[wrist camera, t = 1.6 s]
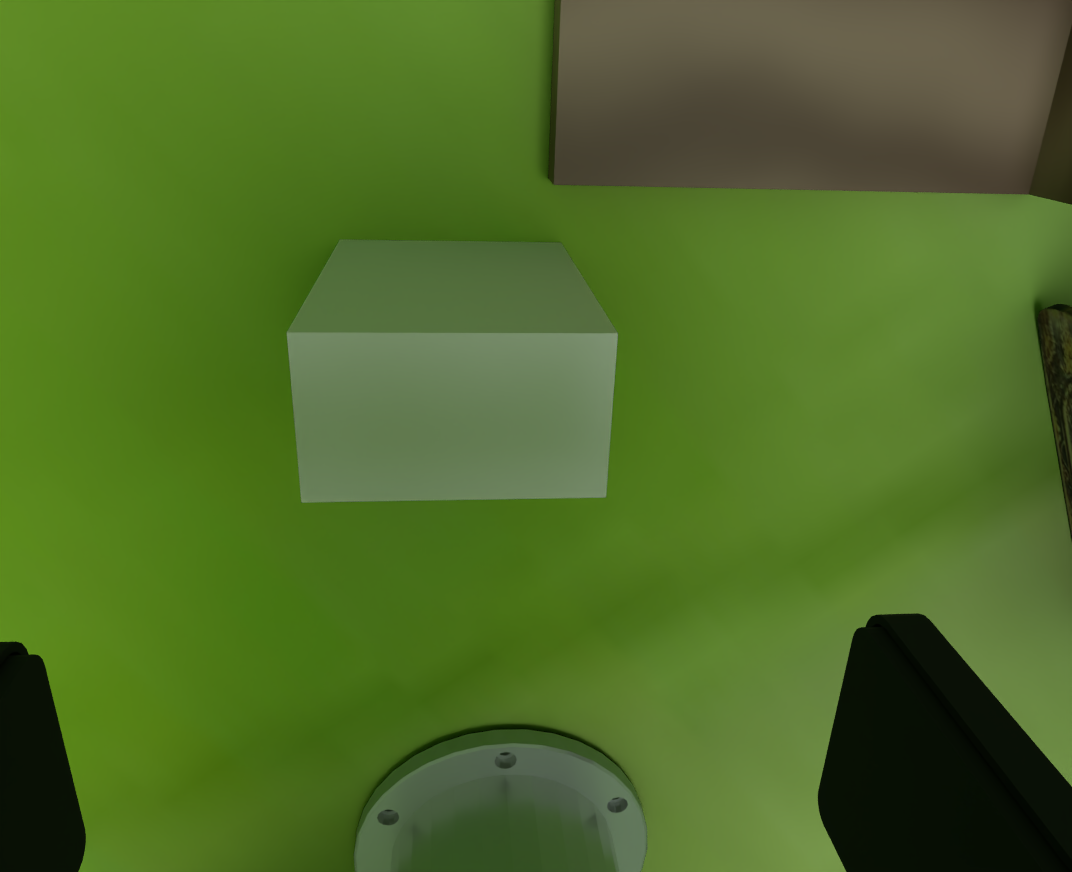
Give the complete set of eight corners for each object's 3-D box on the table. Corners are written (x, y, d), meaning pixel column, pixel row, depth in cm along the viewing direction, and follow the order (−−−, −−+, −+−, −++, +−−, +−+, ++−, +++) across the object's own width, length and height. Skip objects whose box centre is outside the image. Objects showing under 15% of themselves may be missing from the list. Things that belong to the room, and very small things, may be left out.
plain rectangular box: (555, 360, 29) (605, 497, 20) (347, 360, 29) (301, 502, 20) (561, 242, 28) (617, 333, 19) (340, 239, 27) (287, 332, 18)
